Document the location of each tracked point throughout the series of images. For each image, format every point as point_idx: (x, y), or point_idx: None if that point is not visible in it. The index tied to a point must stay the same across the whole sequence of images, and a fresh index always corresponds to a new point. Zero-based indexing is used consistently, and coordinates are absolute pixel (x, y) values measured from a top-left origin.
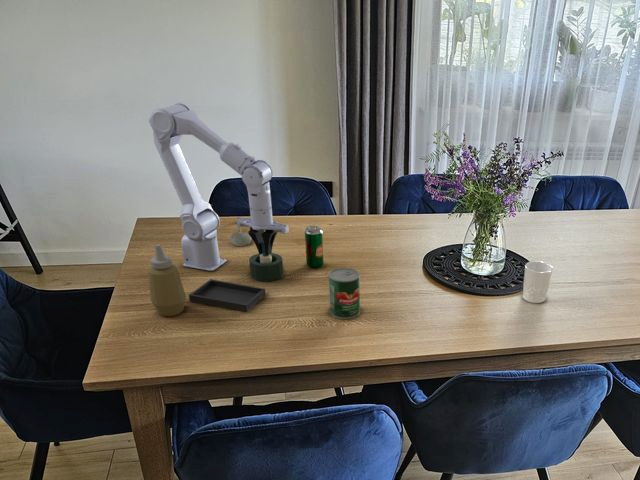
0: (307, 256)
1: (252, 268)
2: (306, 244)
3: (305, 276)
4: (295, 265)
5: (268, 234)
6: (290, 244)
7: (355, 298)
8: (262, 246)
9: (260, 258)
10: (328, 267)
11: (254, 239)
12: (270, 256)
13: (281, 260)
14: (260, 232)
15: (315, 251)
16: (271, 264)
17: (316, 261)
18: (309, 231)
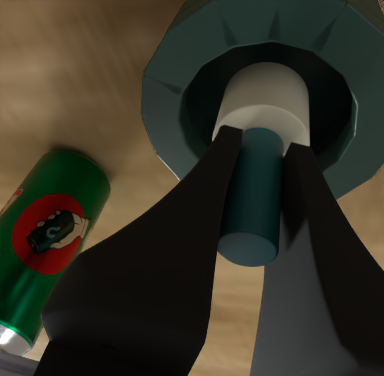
0: (71, 197)
1: (375, 10)
2: (41, 254)
3: (58, 67)
4: (158, 173)
5: (62, 313)
6: (233, 301)
7: None
8: (267, 199)
9: (301, 113)
10: (22, 162)
11: (357, 269)
12: (214, 133)
13: (141, 113)
14: (275, 367)
15: (6, 212)
16: (187, 28)
17: (35, 172)
18: None
